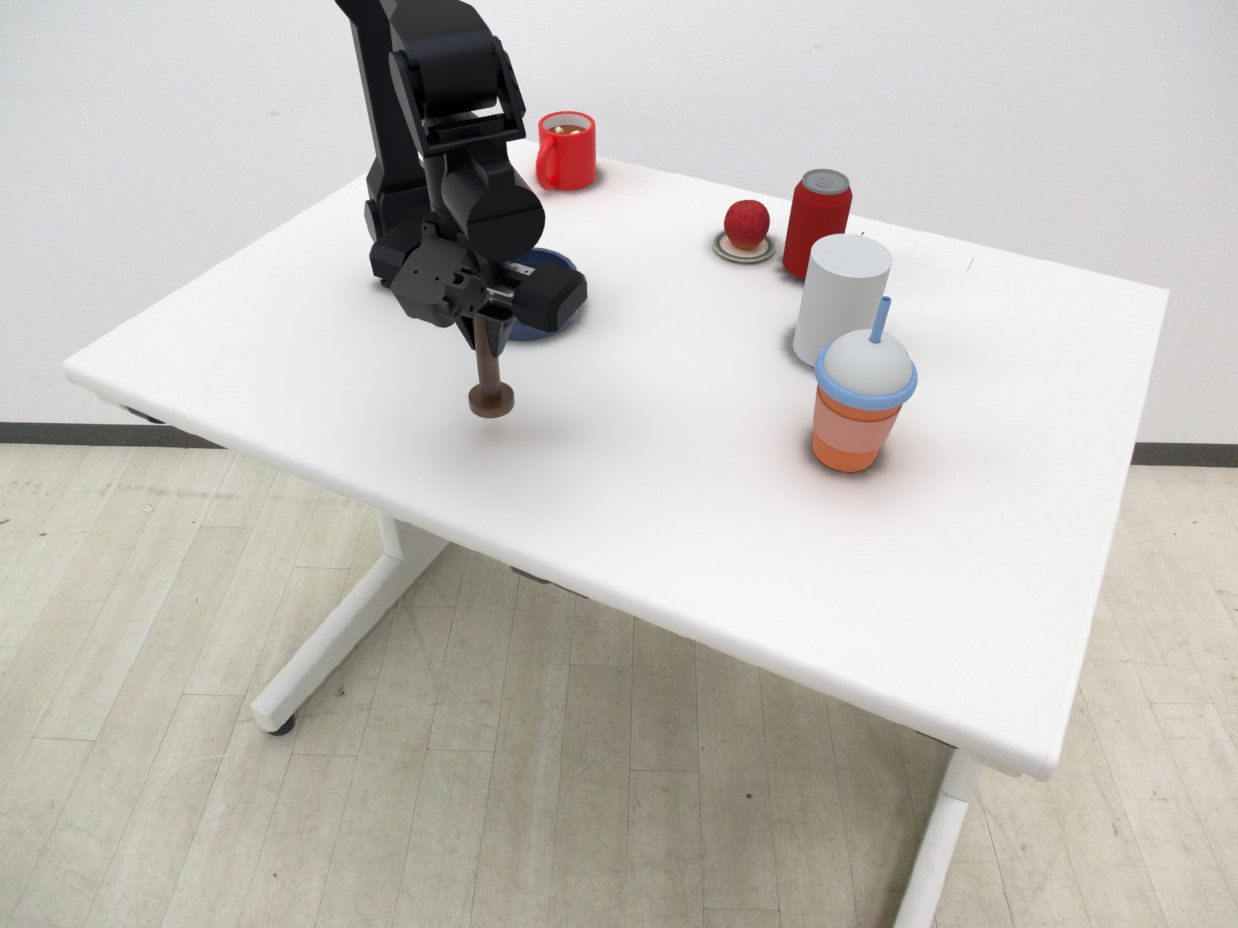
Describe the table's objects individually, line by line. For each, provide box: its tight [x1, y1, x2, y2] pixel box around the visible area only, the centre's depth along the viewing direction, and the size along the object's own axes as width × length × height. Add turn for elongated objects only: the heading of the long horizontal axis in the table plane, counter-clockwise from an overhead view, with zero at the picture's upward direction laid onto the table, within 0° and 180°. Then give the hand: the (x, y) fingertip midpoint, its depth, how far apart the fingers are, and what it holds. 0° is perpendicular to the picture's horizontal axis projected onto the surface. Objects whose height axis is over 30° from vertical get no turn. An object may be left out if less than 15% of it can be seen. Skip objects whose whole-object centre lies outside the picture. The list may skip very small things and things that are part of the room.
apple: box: [712, 199, 776, 263], centre depth 106 cm, size 8×8×6 cm
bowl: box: [487, 246, 580, 341], centre depth 98 cm, size 12×12×4 cm
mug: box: [535, 110, 597, 191], centre depth 117 cm, size 8×12×8 cm, turn 155°
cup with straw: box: [812, 295, 919, 473], centre depth 77 cm, size 9×9×18 cm
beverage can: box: [782, 168, 853, 281], centre depth 101 cm, size 7×7×12 cm
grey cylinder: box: [792, 233, 893, 368], centre depth 90 cm, size 8×8×12 cm
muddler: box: [467, 294, 516, 420], centre depth 78 cm, size 4×4×12 cm
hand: (487, 351), depth 78 cm, fingers closed on muddler, 2 cm apart
